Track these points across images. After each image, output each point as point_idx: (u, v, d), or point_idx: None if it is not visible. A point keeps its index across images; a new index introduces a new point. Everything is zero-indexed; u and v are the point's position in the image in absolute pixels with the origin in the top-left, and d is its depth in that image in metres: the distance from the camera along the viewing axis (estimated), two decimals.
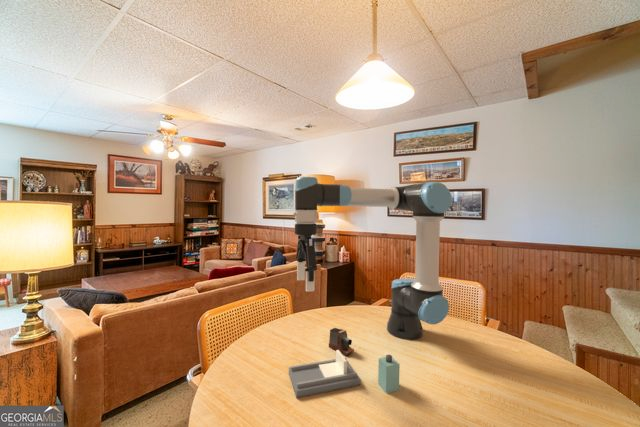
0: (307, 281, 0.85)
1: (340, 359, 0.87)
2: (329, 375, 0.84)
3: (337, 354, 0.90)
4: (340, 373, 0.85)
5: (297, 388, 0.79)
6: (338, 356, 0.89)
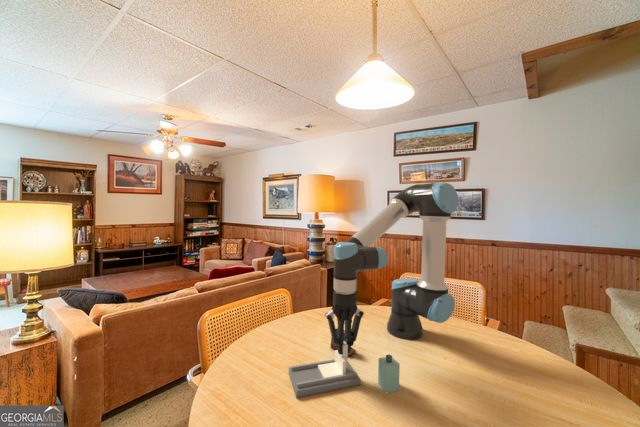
0: None
1: (339, 359, 0.87)
2: (328, 375, 0.84)
3: (336, 354, 0.89)
4: (339, 373, 0.85)
5: (297, 388, 0.79)
6: (337, 356, 0.89)
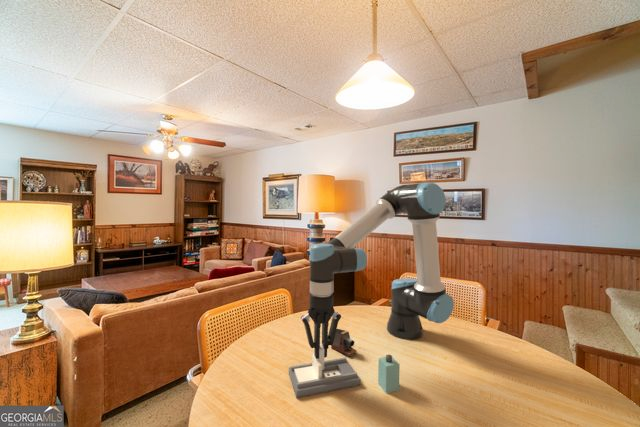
0: None
1: (315, 363, 0.85)
2: (303, 380, 0.81)
3: (313, 358, 0.87)
4: (315, 378, 0.82)
5: (297, 388, 0.79)
6: (314, 360, 0.86)
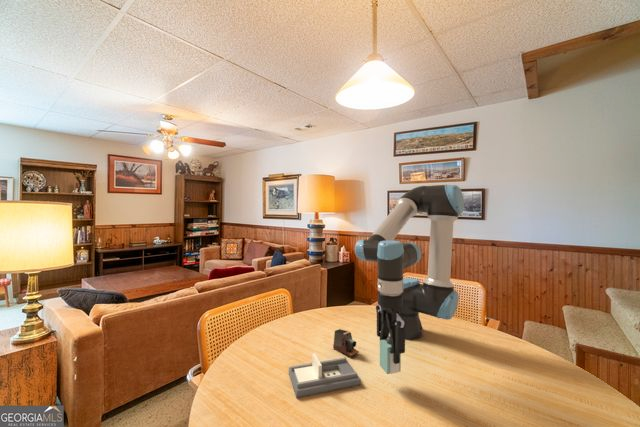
0: (392, 362, 0.80)
1: (315, 363, 0.85)
2: (303, 380, 0.81)
3: (313, 358, 0.87)
4: (315, 378, 0.82)
5: (297, 388, 0.79)
6: (314, 360, 0.86)
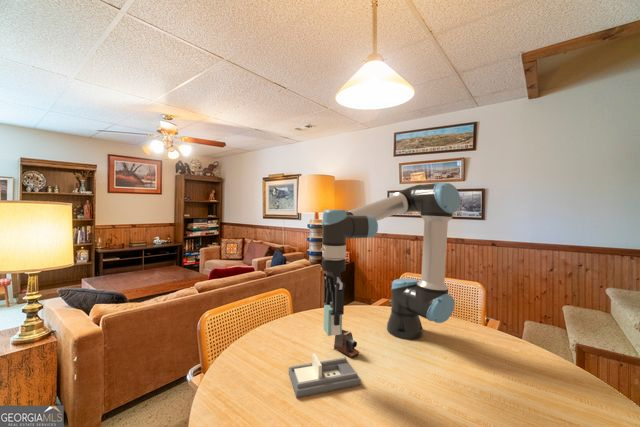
0: (333, 325, 0.83)
1: (315, 363, 0.85)
2: (303, 380, 0.81)
3: (313, 358, 0.87)
4: (315, 378, 0.82)
5: (297, 388, 0.79)
6: (314, 360, 0.86)
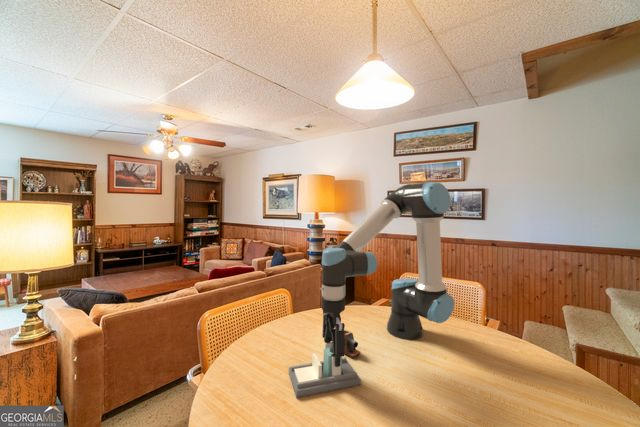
0: (333, 366, 0.83)
1: (315, 363, 0.85)
2: (303, 380, 0.81)
3: (313, 358, 0.87)
4: (315, 378, 0.82)
5: (297, 388, 0.79)
6: (314, 360, 0.86)
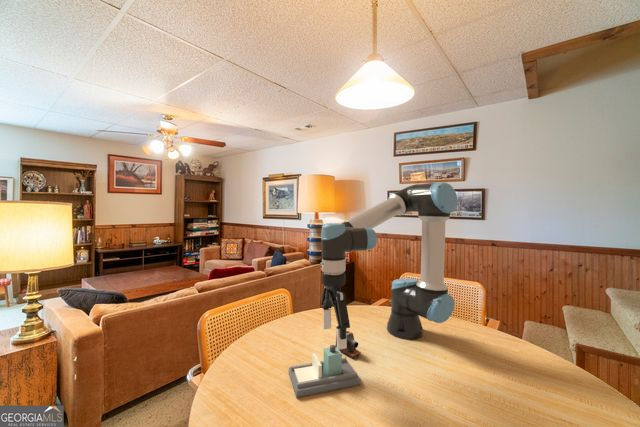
0: (339, 338, 0.80)
1: (315, 363, 0.85)
2: (303, 380, 0.81)
3: (313, 358, 0.87)
4: (315, 378, 0.82)
5: (297, 388, 0.79)
6: (314, 360, 0.86)
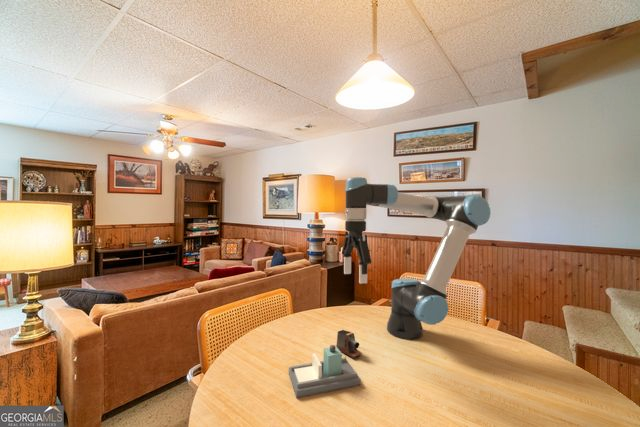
0: (361, 274, 0.92)
1: (315, 363, 0.85)
2: (303, 380, 0.81)
3: (313, 358, 0.87)
4: (315, 378, 0.82)
5: (297, 388, 0.79)
6: (314, 360, 0.86)
